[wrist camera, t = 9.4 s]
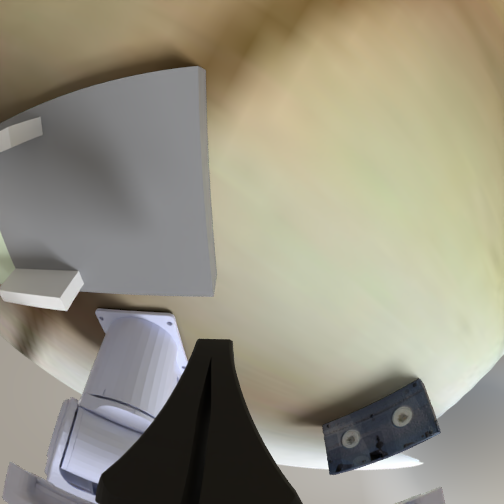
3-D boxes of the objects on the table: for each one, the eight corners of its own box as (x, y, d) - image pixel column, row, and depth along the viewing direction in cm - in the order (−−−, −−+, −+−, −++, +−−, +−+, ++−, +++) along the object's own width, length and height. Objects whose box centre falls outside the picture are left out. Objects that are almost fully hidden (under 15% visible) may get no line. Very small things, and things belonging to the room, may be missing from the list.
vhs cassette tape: (327, 427, 40) (335, 475, 31) (319, 424, 38) (327, 475, 30) (423, 382, 33) (442, 432, 25) (420, 377, 32) (440, 431, 24)
